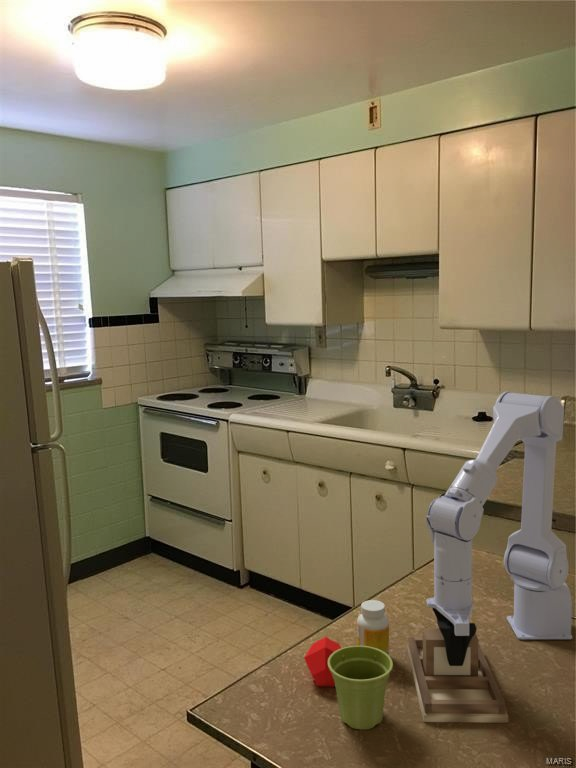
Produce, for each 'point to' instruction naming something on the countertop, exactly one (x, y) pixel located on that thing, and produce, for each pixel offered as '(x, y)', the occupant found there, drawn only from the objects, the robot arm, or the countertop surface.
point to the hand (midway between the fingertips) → (452, 656)
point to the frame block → (437, 658)
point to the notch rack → (456, 692)
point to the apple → (321, 661)
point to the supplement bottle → (373, 626)
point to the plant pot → (360, 684)
